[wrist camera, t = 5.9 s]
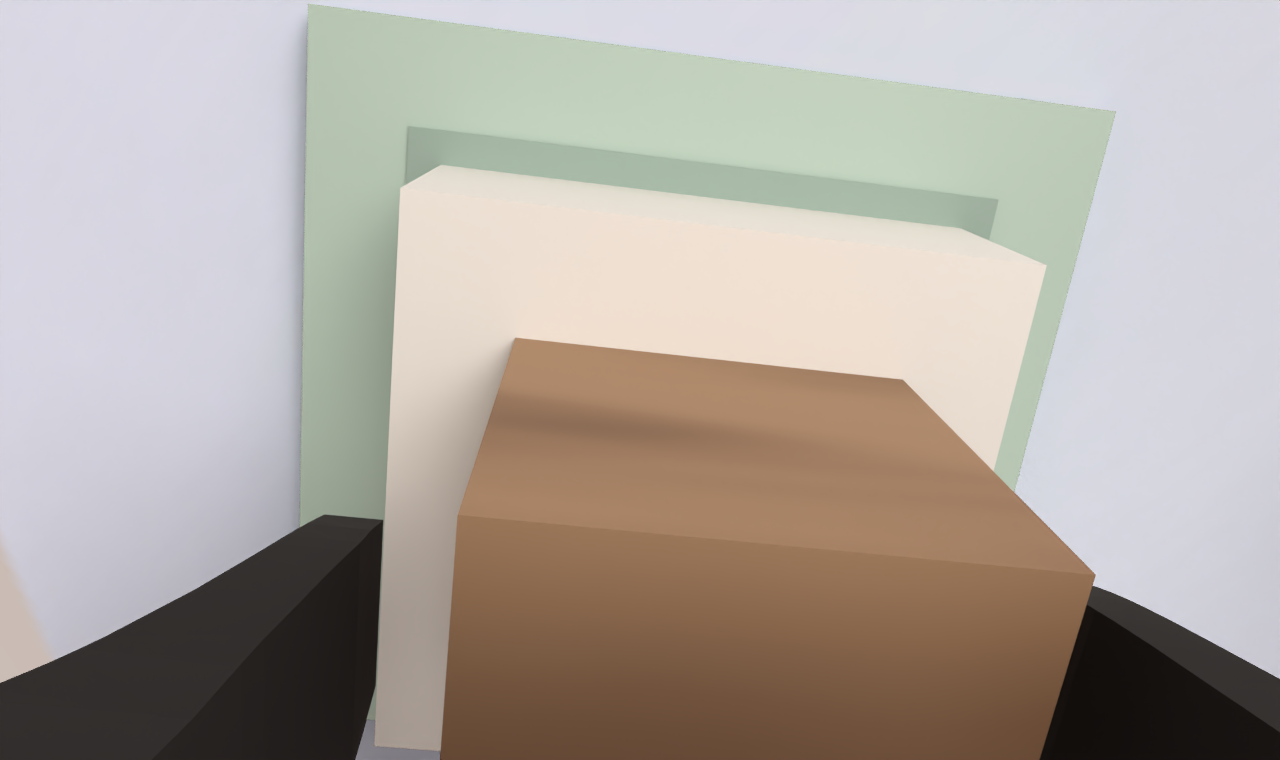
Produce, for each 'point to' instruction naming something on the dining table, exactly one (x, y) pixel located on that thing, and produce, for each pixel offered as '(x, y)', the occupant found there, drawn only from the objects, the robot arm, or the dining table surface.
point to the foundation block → (649, 341)
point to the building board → (637, 182)
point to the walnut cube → (744, 572)
